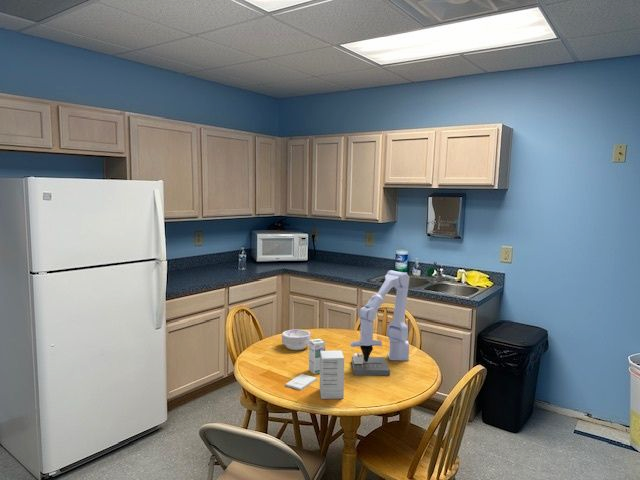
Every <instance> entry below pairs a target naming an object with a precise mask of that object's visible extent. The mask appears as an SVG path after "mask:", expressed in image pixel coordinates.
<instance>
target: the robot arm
mask: <svg viewBox="0 0 640 480" xmlns="http://www.w3.org/2000/svg"><path fill="white" fill-rule="evenodd" d="M409 284H410V276H409V275H408V273H407V272H403V271H396V270H392V269H391V270H390V269H389V270H388V271H387V273H386V274H385V276H384V282H383V283H382V285H381V287H379V290H378V292H377V293H375V294H373V295H372V296H371V297H370V299H369V300H368V301H367V303H366V304H365V305H364V306H362V307H360V308H359V311H358V312H357V313H358V314H357V315H358V318H359V322H360V337H359V338H360V340H356V341H351V342H350V347H351V348H355V347H356V348H357V347H359V348H360V350H361V353H362V355H363V357H364V361H365V362H368V358H369V357H370V355H371V353H372V351H373V349H374V347H373V346H376V347H377V346H380V347H383V346H382V345H383V342H382V341H381V340H377V339H376V340H374V339H373V338H374V337H373V336H374V334H373V333H374V320H375V319H376V318H377V314H378V310H379V309H380V308H381V306H382V304H383V303H384V297H386V295H387V294H388V293H389V292H390V291H391V289H392V288H395V289H396V292H395V300H394V301H395V302H394V311H393V316H392V317H393V318H392V321H390V322H389V323H388V327H387V329H386V336H387V338H388V340H389V349H388V350H389V352H388V353H387V358H388V359H389V361H410V359H409V358H410V356H409V355H410V343H409V341H408V340H407V339H408V338H409V331H408V330H409V327H408V325H407V324H406V323H405V315H406V308H407V307H406V306H407V301H408V293H409V287H410V286H409Z"/></svg>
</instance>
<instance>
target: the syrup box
mask: <svg viewBox="0 0 640 480" xmlns="http://www.w3.org/2000/svg"><path fill="white" fill-rule="evenodd" d="M320 351H326V341H325V340H323V339H321V338H315V339H311V340H309V344H308V370H309V372H311V373H312V374H313V375H317V374H320Z"/></svg>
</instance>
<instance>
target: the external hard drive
mask: <svg viewBox="0 0 640 480" xmlns="http://www.w3.org/2000/svg"><path fill="white" fill-rule="evenodd" d="M316 381H317V377H315V376H311V375H308V374H305V373H304V374H303V373H300V374H299V375H297V376H296V377H294V378H292V379H291V380H289V381H288V382H286V383H284V387H287V388H292V389H294V390H297V391H302V390H304V389H305V388H307V387H309V386H310V385H311V384H313V383H315V382H316Z"/></svg>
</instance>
